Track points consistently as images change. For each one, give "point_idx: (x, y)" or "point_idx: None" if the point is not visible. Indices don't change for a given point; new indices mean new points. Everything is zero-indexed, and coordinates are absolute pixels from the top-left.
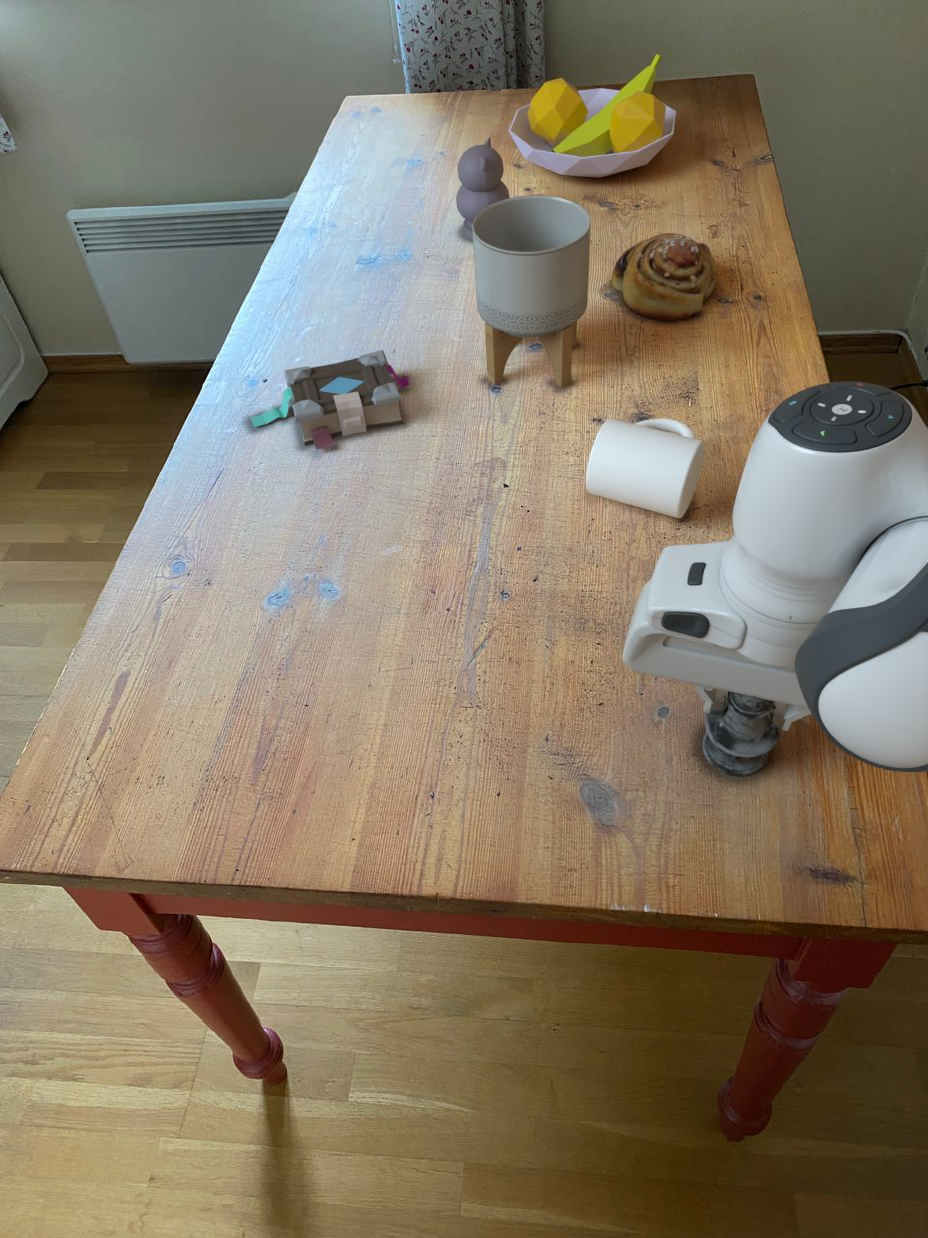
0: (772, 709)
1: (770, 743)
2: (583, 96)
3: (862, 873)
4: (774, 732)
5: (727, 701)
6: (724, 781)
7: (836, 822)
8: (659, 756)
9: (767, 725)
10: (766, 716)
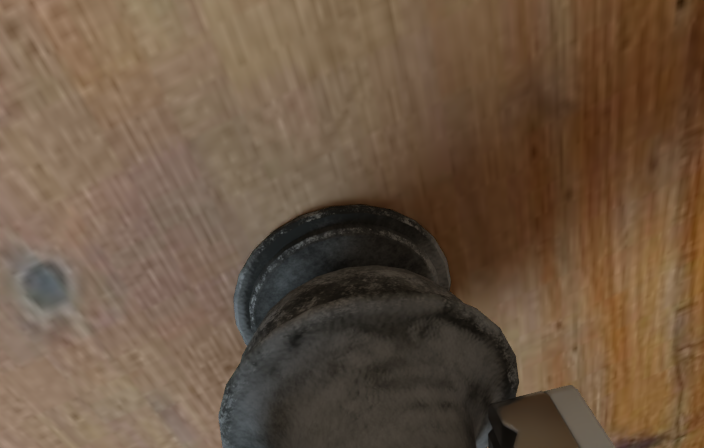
0: (504, 439)
1: (489, 430)
2: None
3: (682, 422)
4: (499, 397)
5: (284, 373)
6: None
7: (638, 356)
8: (134, 415)
9: (476, 418)
10: (466, 386)
